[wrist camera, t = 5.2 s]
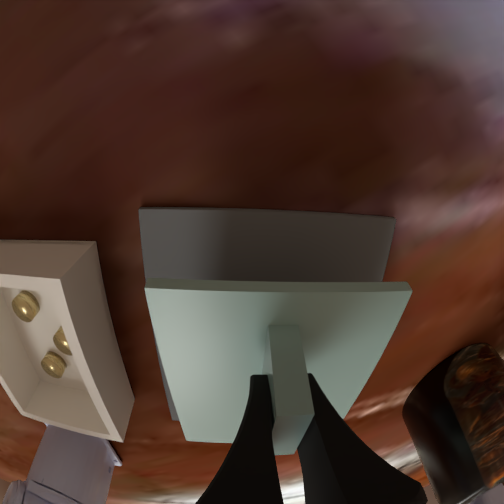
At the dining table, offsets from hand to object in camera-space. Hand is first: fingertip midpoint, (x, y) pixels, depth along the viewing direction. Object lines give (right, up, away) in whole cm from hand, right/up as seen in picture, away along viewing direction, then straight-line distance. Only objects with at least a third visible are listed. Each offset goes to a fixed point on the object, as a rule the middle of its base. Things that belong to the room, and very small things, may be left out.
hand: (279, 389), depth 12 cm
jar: (+19, -8, +12) cm, 24 cm away
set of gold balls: (-15, 0, +7) cm, 17 cm away
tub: (-15, 0, +7) cm, 17 cm away
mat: (0, 0, +8) cm, 8 cm away
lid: (0, -1, +4) cm, 4 cm away
